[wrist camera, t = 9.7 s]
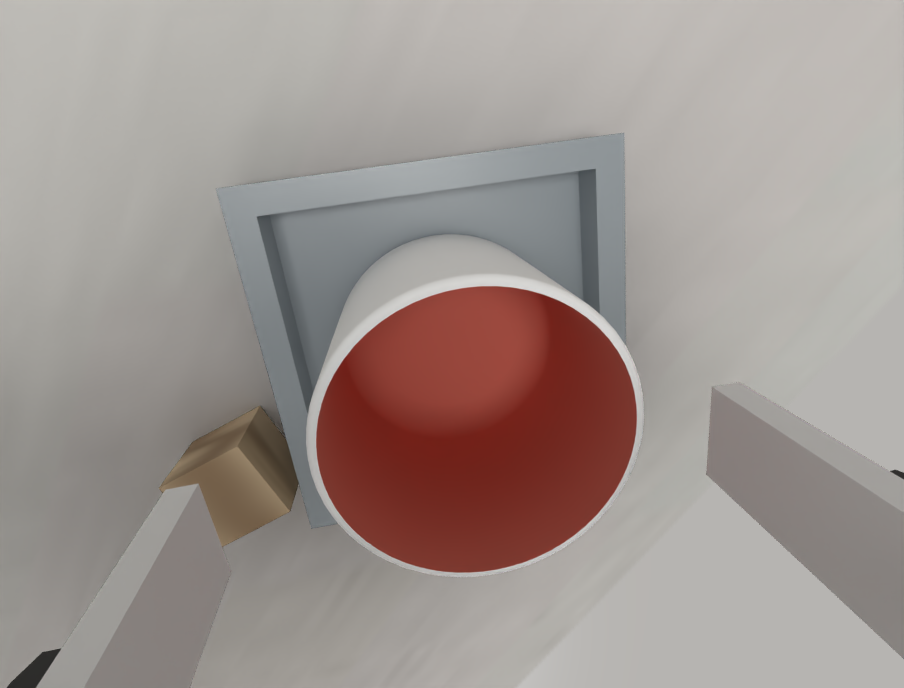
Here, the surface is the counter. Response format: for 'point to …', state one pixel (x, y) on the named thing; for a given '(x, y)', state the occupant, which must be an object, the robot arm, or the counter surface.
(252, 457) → the oak block
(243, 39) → the counter surface
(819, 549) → the robot arm
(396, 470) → the cup
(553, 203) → the tray
